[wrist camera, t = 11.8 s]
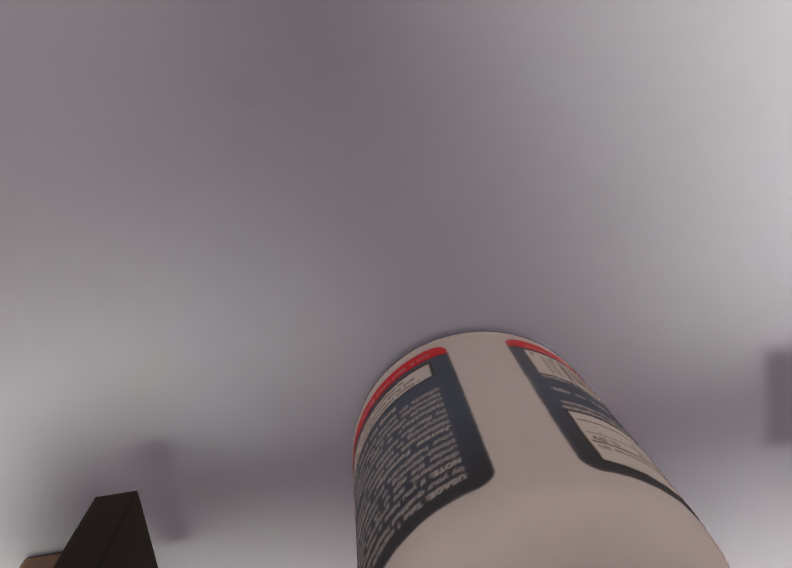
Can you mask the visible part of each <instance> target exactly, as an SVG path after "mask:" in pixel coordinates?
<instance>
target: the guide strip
mask: <svg viewBox="0 0 792 568" xmlns="http://www.w3.org/2000/svg"><path fill="white" fill-rule="evenodd" d="M60 555H61V553H59V554H53V555H46V556H40V557H34V558H27V559H25V560H24V562H23V563H22V565H21V566H20V567H19V568H53V567H54V565H55V563H56V562H57V560H58V558H59V557H60Z"/></svg>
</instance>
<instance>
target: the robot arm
mask: <svg viewBox="0 0 792 568" xmlns="http://www.w3.org/2000/svg"><path fill="white" fill-rule="evenodd" d="M53 568H158V566H157V562H156V559H155V555H154V551H153V547H152V544H151V540H150V536H149V532H148V529H147V525H146V521H145V517H144V514H143V510H142V506H141V502H140V499H139V495H138V491H132V492H125V493H119V494H113V495H106V496H100V497H95V499H94V501H93V502H92V504H91V506H90V507H89V509H88V511H87V512H86V514H85V516H84V517H83V519H82V520H81V522H80V524H79V525H78V527H77V529H76V530H75V532H74V534H73V535H72V537H71V539H70V540H69V542H68V544H67V545H66V547H65V549H64V550H63V552H62V553H61V555H60V557H59V558H58V560H57V562H56V563H55V565H54V567H53Z"/></svg>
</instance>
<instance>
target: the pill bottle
mask: <svg viewBox="0 0 792 568" xmlns="http://www.w3.org/2000/svg"><path fill="white" fill-rule="evenodd" d="M353 478H354V499H355V520H356V545H357V568H730V567H729V565H728V563H727V561H726V559H725V557H724V555H723V553H722V552H721V550H720V549H719V547H718V546H717V544H716V543H715V541H714V540H713V538H712V537H711V536H710V534H709V533H708V531H707V530H706V528H705V527H704V525H703V524H702V523H701V521H700V520H699V519H698V517H697V516H696V515H695V513H694V512H693V511H692V510H691V508H690V507H689V506H688V505H687V504H686V503H685V501H684V500H683V499H682V498H681V496H680V495H679V494H678V493H677V491H676V490H675V489H674V488H673V487H672V485H671V484H670V483H669V482H668V481H667V479H666V478H665V477H664V476H663V474H662V473H661V472H660V471H659V469H658V468H657V467H656V466H655V465H654V464H653V462H652V461H651V460H650V458H649V457H648V456H647V455H646V454H645V453H644V452H643V450H642V449H641V448H640V447H639V445H638V444H637V443H636V442H635V441H634V439H633V438H632V437H631V436H630V435H629V434H628V432H627V431H626V430H625V429H624V428H623V427H622V425H621V424H620V423H619V422H618V421H617V420H616V418H615V417H614V416H613V415H612V414H611V413H610V411H609V410H608V409H607V408H606V407H605V405H604V404H603V403H602V402H601V401H600V399H599V398H598V397H597V396H596V395H595V393H594V392H593V391H592V390H591V389H590V388H589V387H588V385H587V384H586V383H585V382H584V381H583V379H582V378H581V377H580V376H579V375H578V374H577V373H576V372H575V371H574V370H573V369H572V368H571V367H570V366H569V365H568V364H567V363H566V362H565V361H564V360H563V359H562V358H561V357H559V356H558V355H556V354H555V353H554V352H552V351H551V350H549V349H547V348H546V347H544V346H542V345H540V344H538V343H536V342H534V341H531V340H528V339H525V338H523V337H519V336H515V335H511V334H505V333H498V332H467V333H461V334H456V335H452V336H448V337H444V338H440V339H437V340H435V341H432V342H430V343H427V344H425V345H423V346H421V347H419V348H417V349H415V350H413V351H412V352H410V353H409V354H407V355H406V356H404V357H403V358H401V359H400V360H399V361H397V362H396V363H395V364H394V365H393V366H392V367H391V368H390V369H389V370H388V371H387V372H386V373H385V374H384V375H383V376H382V377H381V378H380V379H379V381H378V382H377V383H376V385H375V386H374V387H373V389H372V390H371V392H370V394H369V395H368V397H367V399H366V401H365V403H364V405H363V407H362V410H361V412H360V415H359V418H358V421H357V424H356V429H355V433H354V442H353Z"/></svg>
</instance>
